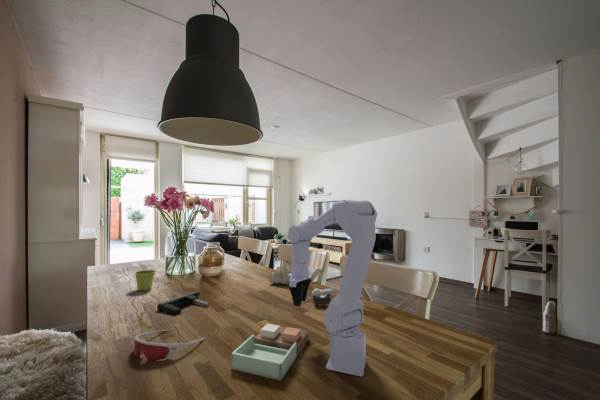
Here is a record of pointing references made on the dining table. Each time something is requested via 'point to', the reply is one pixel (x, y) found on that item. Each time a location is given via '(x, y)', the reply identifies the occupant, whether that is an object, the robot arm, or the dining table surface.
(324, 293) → the clip-on lamp
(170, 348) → the sunglasses
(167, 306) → the door handle
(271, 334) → the white tile
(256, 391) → the dining table surface
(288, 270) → the seashell
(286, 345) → the walnut plate
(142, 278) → the plant pot
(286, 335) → the terracotta tile
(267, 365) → the green bin
